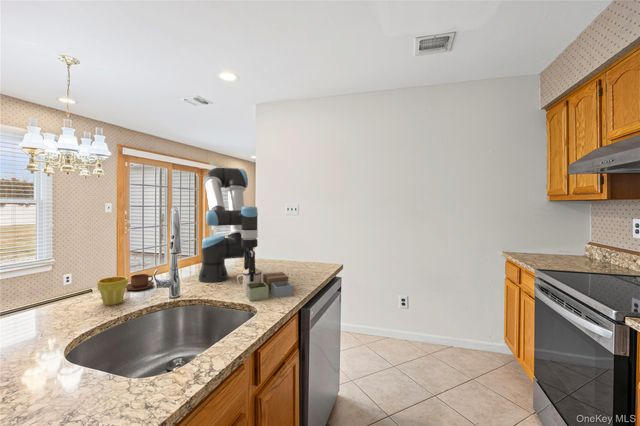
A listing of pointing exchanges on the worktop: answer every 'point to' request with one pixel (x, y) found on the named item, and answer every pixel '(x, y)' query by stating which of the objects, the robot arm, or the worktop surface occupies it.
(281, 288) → the grey tub
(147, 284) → the cup and saucer
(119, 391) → the worktop surface
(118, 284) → the plant pot
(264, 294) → the olive tin
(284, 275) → the walnut stand
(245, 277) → the teacup with lid
